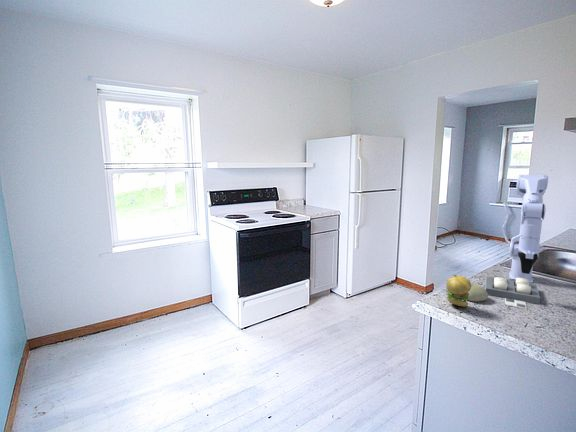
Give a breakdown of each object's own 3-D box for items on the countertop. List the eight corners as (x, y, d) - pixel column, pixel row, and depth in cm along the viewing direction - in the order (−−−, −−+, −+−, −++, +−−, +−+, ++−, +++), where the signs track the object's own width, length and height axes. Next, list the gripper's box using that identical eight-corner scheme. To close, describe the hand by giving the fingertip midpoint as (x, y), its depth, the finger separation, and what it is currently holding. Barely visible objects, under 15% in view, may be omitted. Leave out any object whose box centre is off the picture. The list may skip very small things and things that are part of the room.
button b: (493, 286, 121) (494, 278, 121) (506, 288, 119) (507, 281, 119) (493, 289, 118) (494, 282, 118) (507, 292, 116) (507, 284, 115)
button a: (493, 283, 127) (494, 276, 127) (506, 285, 125) (506, 278, 125) (493, 286, 124) (494, 279, 123) (506, 289, 122) (507, 281, 121)
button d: (515, 290, 118) (516, 282, 117) (529, 292, 115) (530, 284, 115) (516, 293, 114) (517, 286, 114) (530, 296, 112) (531, 288, 111)
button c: (514, 284, 123) (515, 276, 123) (528, 286, 121) (529, 278, 121) (515, 287, 120) (516, 280, 119) (529, 289, 118) (530, 282, 117)
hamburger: (473, 307, 107) (476, 274, 105) (462, 313, 103) (465, 278, 101) (451, 299, 114) (454, 268, 112) (440, 304, 110) (442, 272, 108)
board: (486, 281, 130) (487, 276, 130) (535, 289, 122) (535, 284, 121) (485, 294, 118) (486, 288, 118) (539, 304, 109) (540, 297, 109)
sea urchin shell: (495, 299, 109) (478, 283, 110) (476, 312, 112) (460, 296, 112) (484, 289, 118) (469, 274, 118) (467, 301, 120) (452, 287, 121)
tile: (504, 298, 114) (504, 297, 114) (525, 302, 111) (525, 301, 111) (505, 305, 109) (505, 303, 109) (526, 309, 106) (526, 308, 106)
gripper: (515, 231, 119) (511, 265, 122) (517, 239, 108) (512, 276, 110) (538, 233, 116) (534, 268, 118) (543, 241, 104) (538, 280, 106)
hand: (525, 273), depth 114 cm, fingers closed
